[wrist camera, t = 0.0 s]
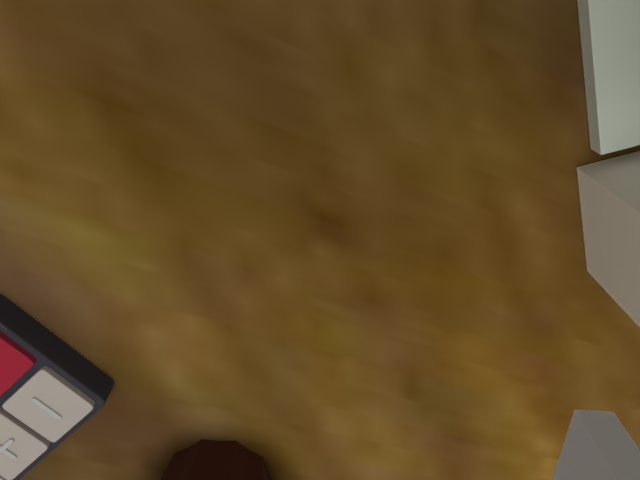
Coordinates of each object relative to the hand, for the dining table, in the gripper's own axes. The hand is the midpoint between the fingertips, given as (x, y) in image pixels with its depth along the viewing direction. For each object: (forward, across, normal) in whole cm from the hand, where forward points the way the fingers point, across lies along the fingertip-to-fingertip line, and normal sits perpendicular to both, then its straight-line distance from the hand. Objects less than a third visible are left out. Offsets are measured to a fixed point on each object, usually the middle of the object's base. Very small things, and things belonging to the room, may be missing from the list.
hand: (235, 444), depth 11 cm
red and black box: (+29, -21, -23) cm, 42 cm away
